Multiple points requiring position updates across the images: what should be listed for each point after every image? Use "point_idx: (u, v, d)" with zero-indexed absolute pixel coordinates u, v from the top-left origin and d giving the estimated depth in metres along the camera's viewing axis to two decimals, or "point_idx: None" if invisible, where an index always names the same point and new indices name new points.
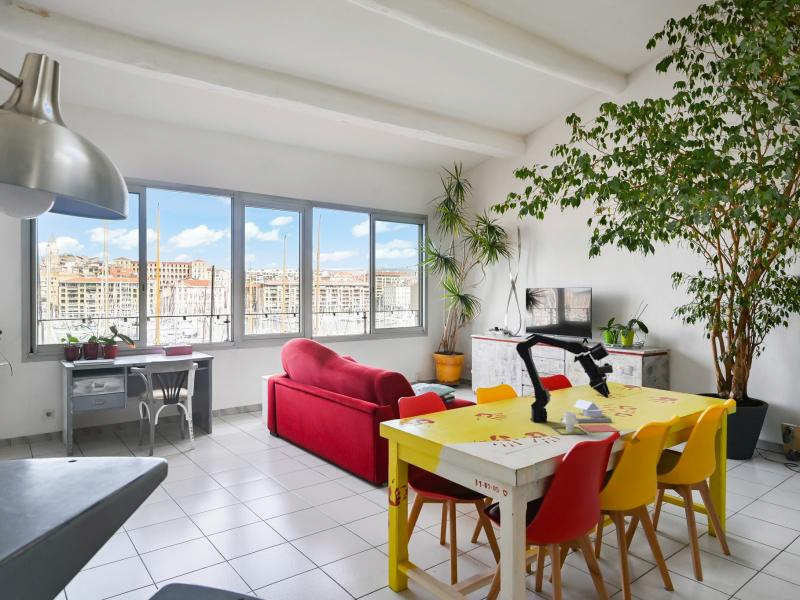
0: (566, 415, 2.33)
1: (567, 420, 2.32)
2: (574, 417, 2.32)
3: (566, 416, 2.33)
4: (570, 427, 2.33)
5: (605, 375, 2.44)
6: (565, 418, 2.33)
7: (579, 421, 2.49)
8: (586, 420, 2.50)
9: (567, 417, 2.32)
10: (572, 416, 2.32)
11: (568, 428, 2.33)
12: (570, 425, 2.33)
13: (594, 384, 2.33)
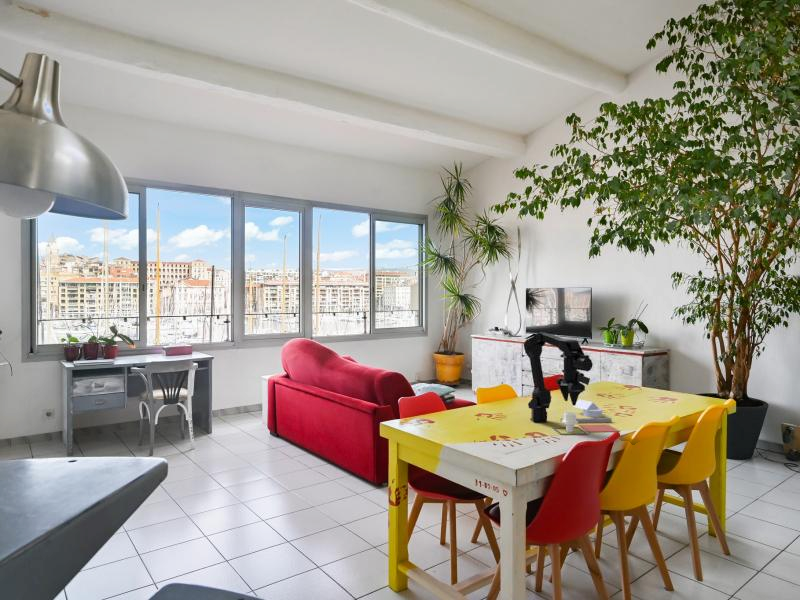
0: (566, 415, 2.33)
1: (567, 420, 2.32)
2: (574, 417, 2.32)
3: (566, 416, 2.33)
4: (570, 427, 2.33)
5: None
6: (565, 418, 2.33)
7: (579, 421, 2.49)
8: (586, 420, 2.50)
9: (567, 417, 2.32)
10: (572, 416, 2.32)
11: (568, 428, 2.33)
12: (570, 425, 2.33)
13: (576, 389, 2.25)
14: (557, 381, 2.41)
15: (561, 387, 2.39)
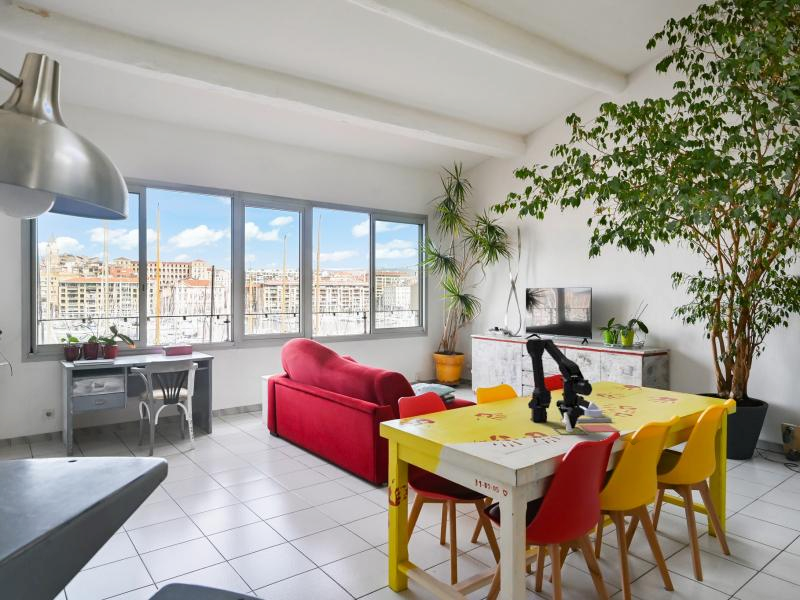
0: (566, 415, 2.33)
1: (567, 420, 2.32)
2: None
3: (566, 415, 2.33)
4: (570, 427, 2.33)
5: None
6: (565, 418, 2.33)
7: (579, 421, 2.49)
8: (586, 420, 2.50)
9: (567, 417, 2.32)
10: None
11: (568, 428, 2.33)
12: (570, 425, 2.33)
13: (575, 413, 2.25)
14: (557, 404, 2.41)
15: (562, 411, 2.38)
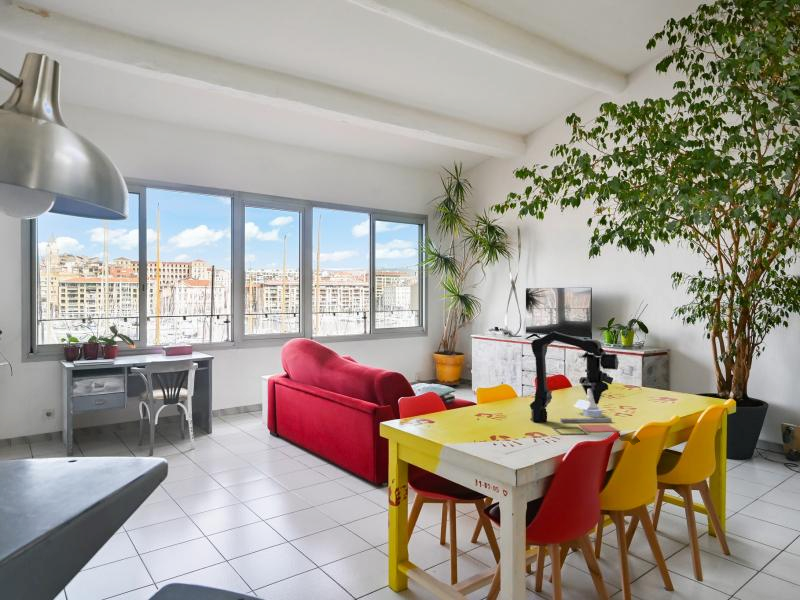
0: (590, 391, 2.36)
1: (591, 396, 2.35)
2: None
3: (589, 391, 2.36)
4: (594, 403, 2.36)
5: None
6: (589, 394, 2.36)
7: (579, 421, 2.49)
8: (586, 420, 2.50)
9: (591, 393, 2.36)
10: None
11: (592, 404, 2.36)
12: (594, 401, 2.36)
13: (599, 388, 2.28)
14: (580, 381, 2.45)
15: (585, 387, 2.41)
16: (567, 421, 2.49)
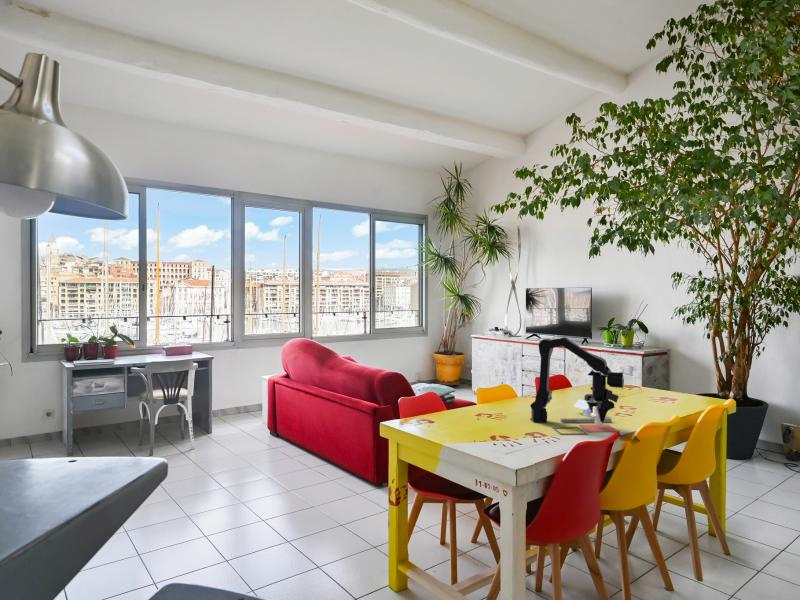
0: (595, 409, 2.37)
1: (596, 414, 2.37)
2: None
3: (595, 409, 2.37)
4: (599, 420, 2.37)
5: None
6: (594, 412, 2.38)
7: (579, 421, 2.49)
8: (586, 420, 2.50)
9: (596, 411, 2.37)
10: None
11: (597, 421, 2.38)
12: (599, 419, 2.37)
13: (605, 406, 2.29)
14: (585, 398, 2.46)
15: (590, 404, 2.43)
16: (567, 421, 2.49)
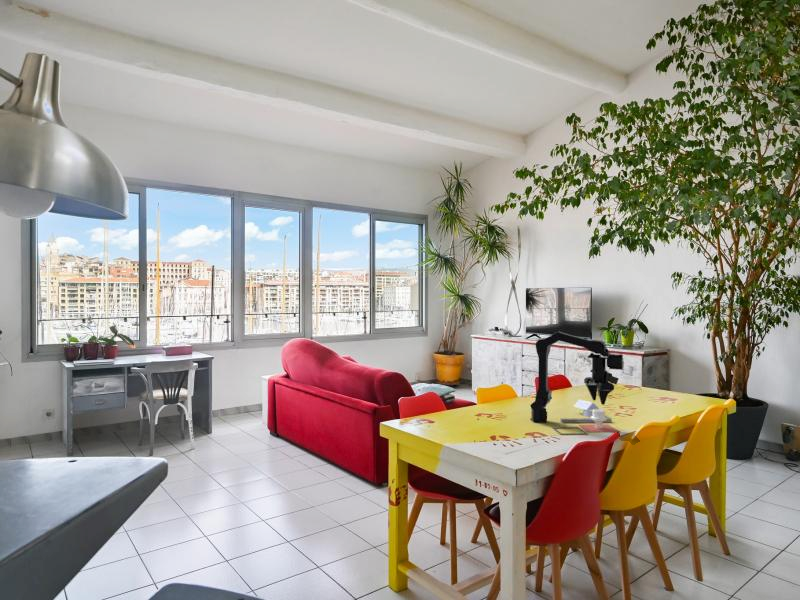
0: (595, 412, 2.37)
1: (596, 417, 2.37)
2: (603, 414, 2.37)
3: (595, 412, 2.37)
4: (599, 424, 2.37)
5: None
6: (594, 415, 2.38)
7: (579, 421, 2.49)
8: (586, 420, 2.50)
9: (596, 414, 2.37)
10: (601, 413, 2.36)
11: (597, 425, 2.38)
12: (599, 422, 2.37)
13: (605, 388, 2.29)
14: (585, 381, 2.46)
15: (589, 387, 2.44)
16: (567, 421, 2.49)
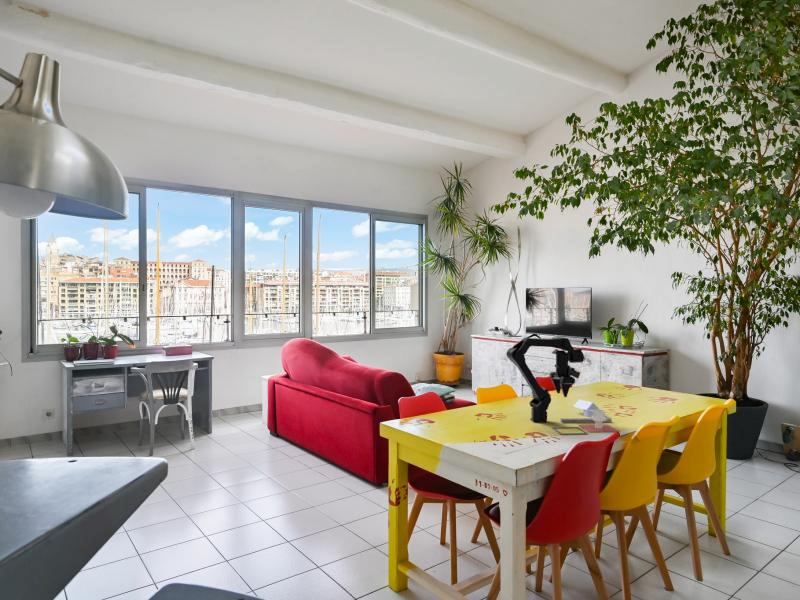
0: (595, 412, 2.37)
1: (596, 417, 2.37)
2: (603, 414, 2.37)
3: (595, 412, 2.37)
4: (599, 424, 2.37)
5: None
6: (594, 415, 2.38)
7: (579, 421, 2.49)
8: (586, 420, 2.50)
9: (596, 414, 2.37)
10: (601, 413, 2.36)
11: (597, 425, 2.38)
12: (599, 422, 2.37)
13: (566, 381, 2.46)
14: (550, 375, 2.62)
15: (554, 380, 2.60)
16: (567, 421, 2.49)
